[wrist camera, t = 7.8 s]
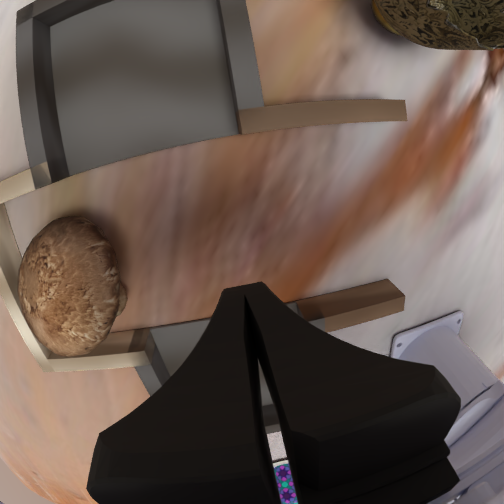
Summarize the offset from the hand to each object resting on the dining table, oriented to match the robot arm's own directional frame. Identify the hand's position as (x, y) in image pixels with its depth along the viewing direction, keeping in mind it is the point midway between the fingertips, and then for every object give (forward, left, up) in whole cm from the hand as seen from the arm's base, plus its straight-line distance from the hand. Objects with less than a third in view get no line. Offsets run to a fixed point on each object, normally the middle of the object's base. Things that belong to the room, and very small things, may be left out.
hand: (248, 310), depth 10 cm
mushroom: (0, +10, -9) cm, 13 cm away
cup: (+13, -12, -9) cm, 20 cm away
